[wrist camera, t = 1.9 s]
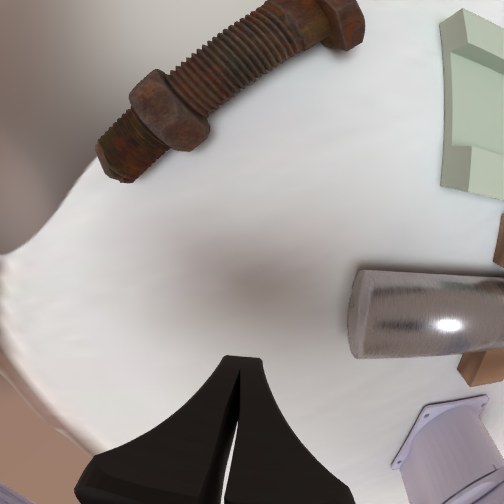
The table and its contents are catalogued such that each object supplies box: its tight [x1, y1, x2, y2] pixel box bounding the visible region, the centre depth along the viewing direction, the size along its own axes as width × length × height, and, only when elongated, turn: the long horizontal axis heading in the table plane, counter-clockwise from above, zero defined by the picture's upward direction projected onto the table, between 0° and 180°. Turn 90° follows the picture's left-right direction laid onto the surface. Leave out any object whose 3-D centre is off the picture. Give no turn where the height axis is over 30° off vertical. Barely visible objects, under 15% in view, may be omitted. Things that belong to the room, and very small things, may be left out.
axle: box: [347, 270, 504, 359], centre depth 16 cm, size 14×5×5 cm, turn 87°
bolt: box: [95, 0, 365, 183], centre depth 14 cm, size 6×5×15 cm
